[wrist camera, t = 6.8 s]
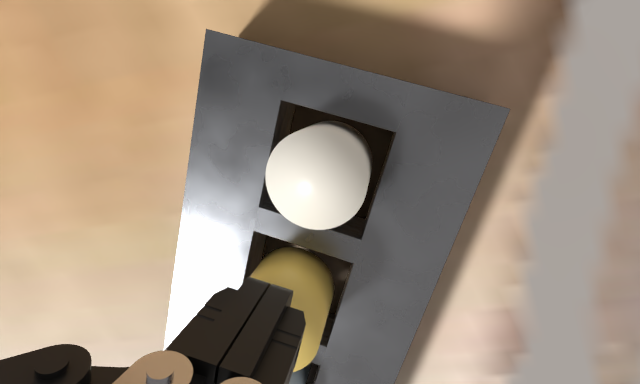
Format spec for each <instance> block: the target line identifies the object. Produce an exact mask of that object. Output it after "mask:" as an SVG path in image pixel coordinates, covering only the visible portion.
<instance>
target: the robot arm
mask: <svg viewBox="0 0 640 384" xmlns="http://www.w3.org/2000/svg"><path fill="white" fill-rule="evenodd" d="M292 297H293V290H290V289H287V288H284V287H281V286H277V285H274V284H270V283H268V282H264V281H261V280H258V279H255V278H252V277H248V278H247V279H246V280H245V281H244V283H243V284H242V285H241V287H240V288H239V289H238V290H236V289H233V288H230V287H227V288H225V289H223V290H221V291H219V292H217V293H215V294H213V295H212V297H211V298H210V299H209V300H208V301H207V302H206V303H205V305H204V307H202V308H201V309H200V310H199V311H198V313H197V314H196V316H194V317H193V318H192V319H191V321H190V322H189V323H188V324H187V325H186V326H185V327H184V328H183V330H182V331H181V332H180V333H179V334H178V335H177V336H176V338H175V339H174V340H173V341H172V342H171V343H170V344H169V346H168V347H167V348H166V349H165V350H164V351H157V352H153V353H150V354H147V355H145V356H143V357H142V358H140V359H139V360H137V361H136V362H135V363H134V364H133V365H132V366H131V367H98V366H91V356H90V353H89V352H88V351H87V350H86V349H84V348H83V347H80V346H77V345H72V344H61V345H54V346H50V347H46V348H42V349H39V350H35V351H32V352H28V353H24V354H21V355H17V356H14V357H10V358H6V359H3V360H0V384H289V382H290V379H291V376H292V373H293V370H294V367H295V365H296V362H297V358H298V354H299V350H300V346H301V342H302V338H303V334H304V330H305V326H306V321H305V316H304V311H301V310H298V309H295V308H292V307H290V306H291V301H292Z"/></svg>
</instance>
